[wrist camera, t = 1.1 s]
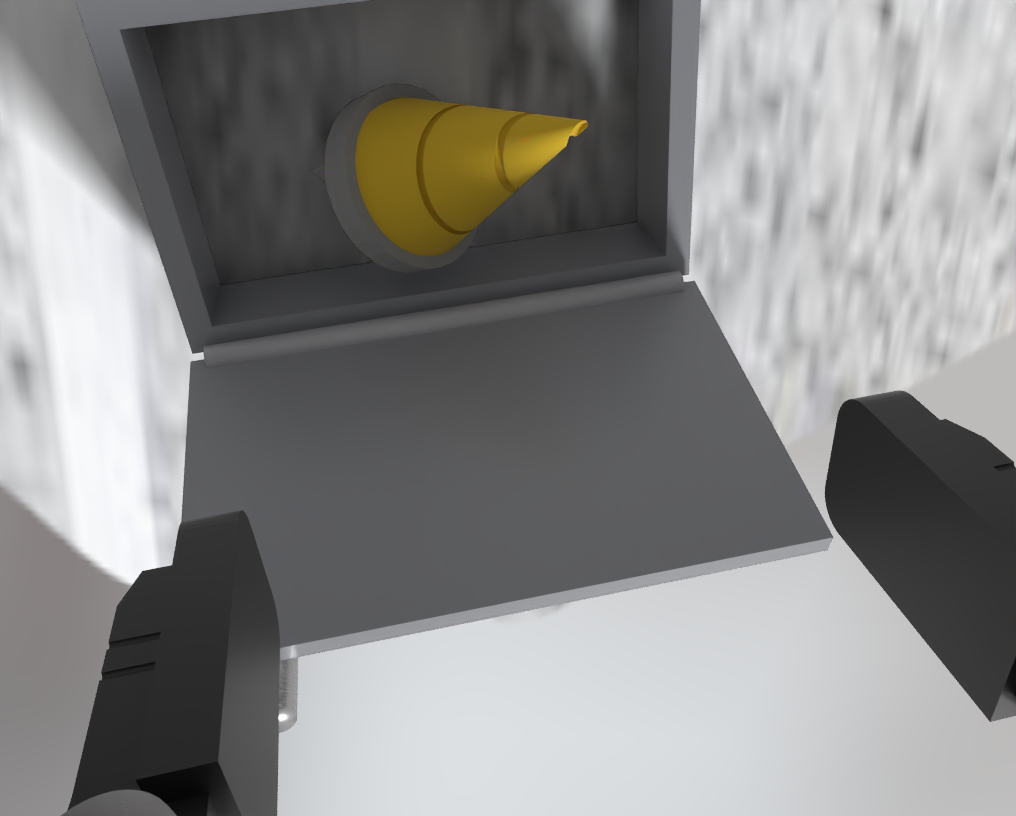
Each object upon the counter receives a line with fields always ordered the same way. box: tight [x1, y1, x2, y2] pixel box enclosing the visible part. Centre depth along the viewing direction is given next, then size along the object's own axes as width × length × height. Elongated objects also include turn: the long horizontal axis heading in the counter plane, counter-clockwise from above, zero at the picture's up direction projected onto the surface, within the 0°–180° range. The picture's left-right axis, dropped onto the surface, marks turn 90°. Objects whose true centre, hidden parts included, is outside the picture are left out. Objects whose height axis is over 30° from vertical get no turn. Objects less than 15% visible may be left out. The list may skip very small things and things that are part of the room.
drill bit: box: [310, 84, 588, 273], centre depth 24 cm, size 5×5×10 cm
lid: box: [181, 271, 833, 661], centre depth 24 cm, size 16×10×1 cm
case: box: [75, 0, 701, 354], centre depth 26 cm, size 16×10×3 cm, turn 94°
